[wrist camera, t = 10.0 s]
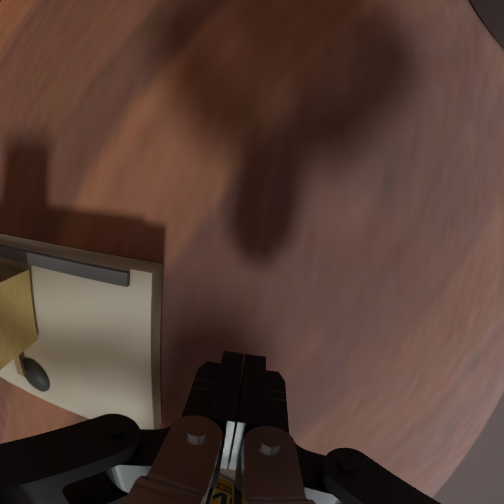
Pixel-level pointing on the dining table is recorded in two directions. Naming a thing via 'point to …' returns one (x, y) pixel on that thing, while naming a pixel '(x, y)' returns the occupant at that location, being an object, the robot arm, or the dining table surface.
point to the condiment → (224, 487)
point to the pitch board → (91, 330)
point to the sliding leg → (15, 315)
